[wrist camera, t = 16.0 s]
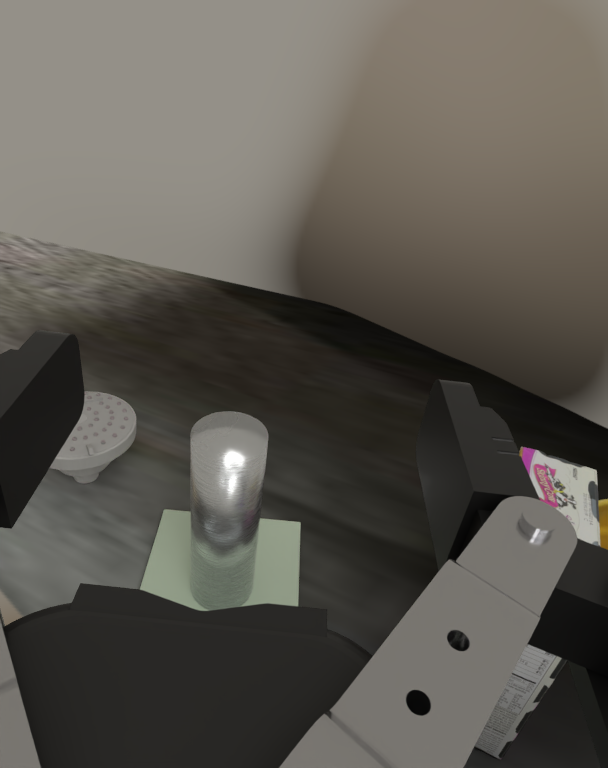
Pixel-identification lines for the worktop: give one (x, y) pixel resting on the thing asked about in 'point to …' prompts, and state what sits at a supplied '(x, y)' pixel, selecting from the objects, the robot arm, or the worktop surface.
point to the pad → (272, 565)
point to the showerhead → (97, 437)
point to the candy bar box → (535, 667)
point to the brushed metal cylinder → (225, 507)
